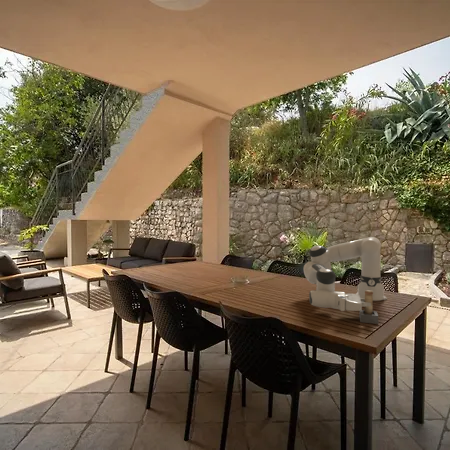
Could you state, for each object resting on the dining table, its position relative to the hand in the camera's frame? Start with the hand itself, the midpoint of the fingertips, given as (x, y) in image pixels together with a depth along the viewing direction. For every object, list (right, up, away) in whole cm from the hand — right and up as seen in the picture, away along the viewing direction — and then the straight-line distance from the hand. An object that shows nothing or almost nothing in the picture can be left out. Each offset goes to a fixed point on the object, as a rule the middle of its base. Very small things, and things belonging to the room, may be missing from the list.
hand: (370, 302), depth 161 cm
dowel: (-1, -7, +1) cm, 7 cm away
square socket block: (-1, -9, +1) cm, 9 cm away
